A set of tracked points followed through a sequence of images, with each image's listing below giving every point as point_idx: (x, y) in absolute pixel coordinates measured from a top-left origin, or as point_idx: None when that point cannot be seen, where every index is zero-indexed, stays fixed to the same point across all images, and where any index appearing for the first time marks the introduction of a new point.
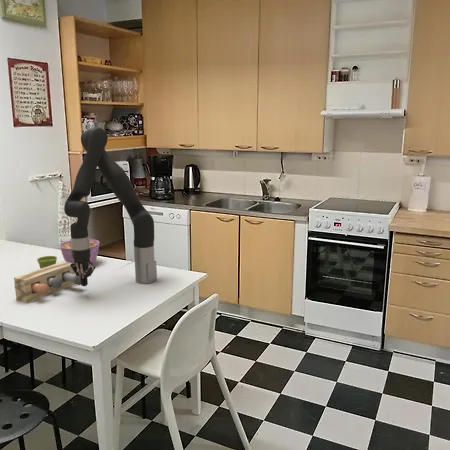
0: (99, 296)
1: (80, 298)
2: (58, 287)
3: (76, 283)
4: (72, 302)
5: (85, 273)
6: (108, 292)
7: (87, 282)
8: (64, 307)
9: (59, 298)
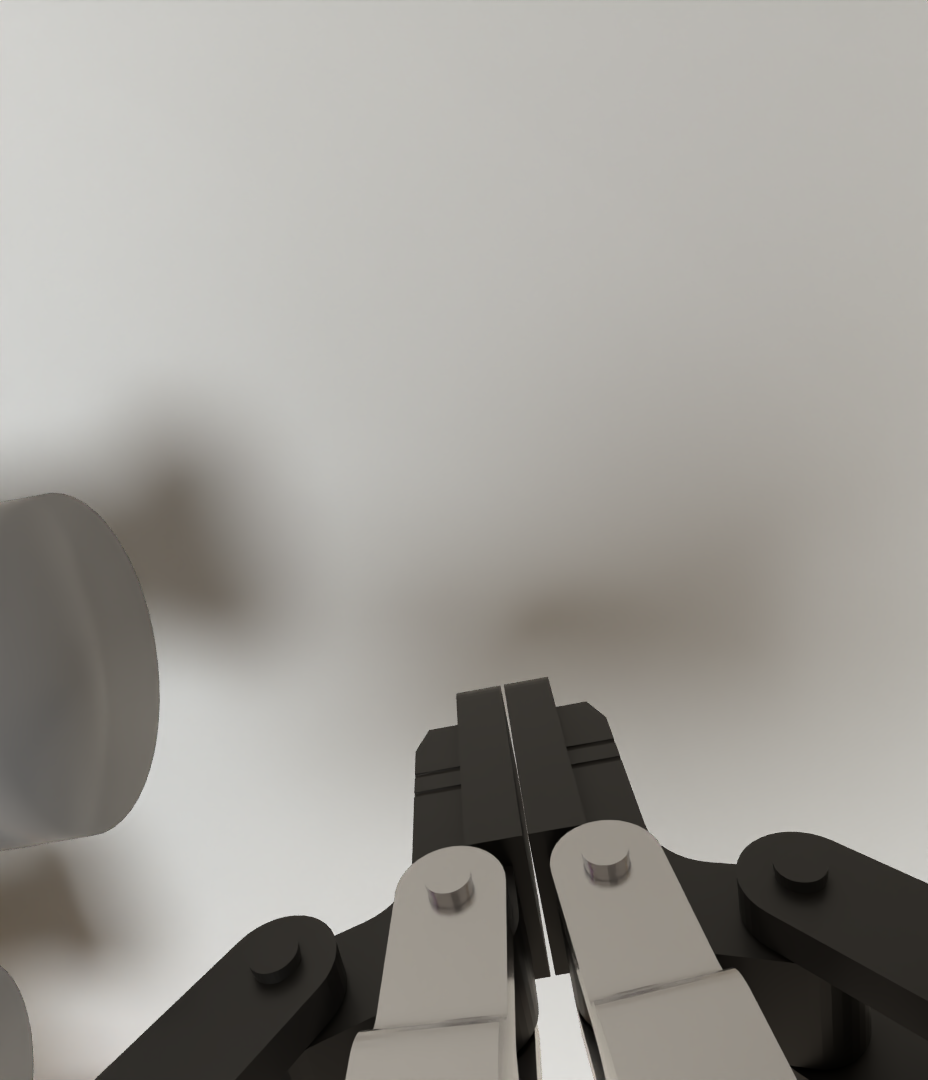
0: (764, 456)
1: None
2: (5, 998)
3: (155, 744)
4: None
5: (600, 976)
6: (751, 170)
7: (612, 743)
8: None
9: None
